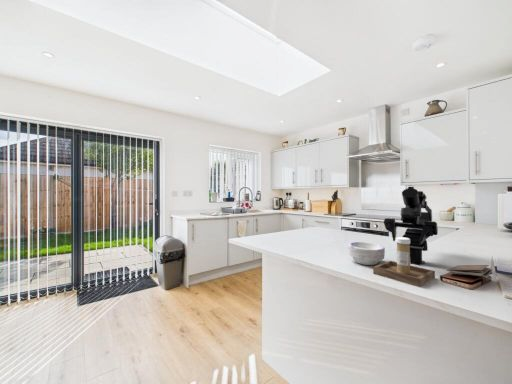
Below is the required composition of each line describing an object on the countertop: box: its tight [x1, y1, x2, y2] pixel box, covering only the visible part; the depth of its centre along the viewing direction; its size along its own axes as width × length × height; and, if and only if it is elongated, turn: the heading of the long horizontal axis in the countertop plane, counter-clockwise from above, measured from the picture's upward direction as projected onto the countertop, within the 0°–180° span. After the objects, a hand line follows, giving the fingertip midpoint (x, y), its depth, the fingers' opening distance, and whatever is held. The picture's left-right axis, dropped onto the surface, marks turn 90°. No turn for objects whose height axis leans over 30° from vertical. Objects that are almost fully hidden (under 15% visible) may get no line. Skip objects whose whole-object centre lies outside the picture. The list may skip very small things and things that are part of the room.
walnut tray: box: [372, 260, 436, 288], centre depth 91 cm, size 14×16×3 cm
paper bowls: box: [347, 241, 386, 266], centre depth 108 cm, size 15×15×8 cm
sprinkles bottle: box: [395, 236, 411, 274], centre depth 91 cm, size 5×5×14 cm
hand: (406, 242), depth 95 cm, fingers open, 9 cm apart
